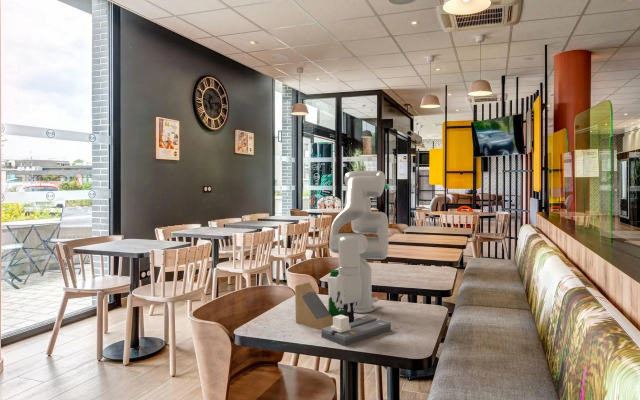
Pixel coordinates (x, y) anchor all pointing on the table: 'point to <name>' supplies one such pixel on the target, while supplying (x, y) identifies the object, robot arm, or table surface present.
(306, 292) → the sandwich container
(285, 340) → the table surface
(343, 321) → the fader knob
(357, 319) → the fader console
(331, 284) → the milk carton
